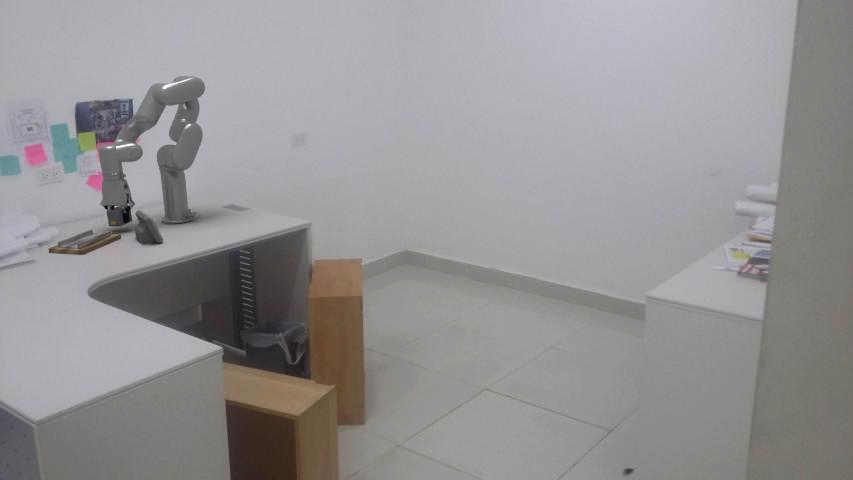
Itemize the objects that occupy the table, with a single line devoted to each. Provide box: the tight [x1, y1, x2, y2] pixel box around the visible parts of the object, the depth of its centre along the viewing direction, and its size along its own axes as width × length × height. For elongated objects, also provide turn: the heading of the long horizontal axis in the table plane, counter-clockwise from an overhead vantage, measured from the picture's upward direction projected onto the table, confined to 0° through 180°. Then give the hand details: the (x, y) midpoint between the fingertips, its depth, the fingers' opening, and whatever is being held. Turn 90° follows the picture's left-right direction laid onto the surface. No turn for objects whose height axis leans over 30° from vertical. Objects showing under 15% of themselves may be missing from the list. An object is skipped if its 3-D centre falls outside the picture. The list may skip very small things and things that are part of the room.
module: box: [106, 206, 133, 228], centre depth 288 cm, size 5×9×6 cm, turn 168°
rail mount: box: [48, 229, 122, 256], centre depth 270 cm, size 14×22×3 cm, turn 168°
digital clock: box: [134, 209, 164, 245], centre depth 276 cm, size 16×9×11 cm, turn 24°
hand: (120, 221), depth 289 cm, fingers closed on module, 5 cm apart
